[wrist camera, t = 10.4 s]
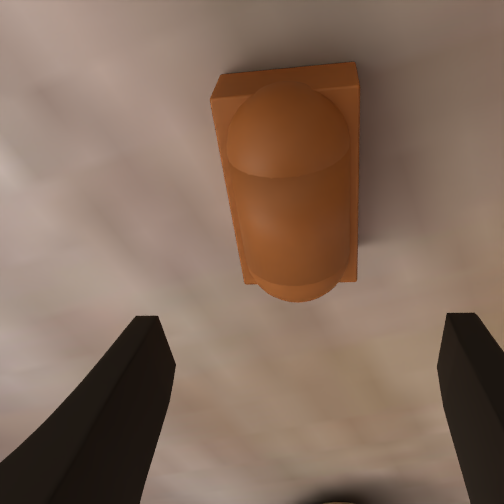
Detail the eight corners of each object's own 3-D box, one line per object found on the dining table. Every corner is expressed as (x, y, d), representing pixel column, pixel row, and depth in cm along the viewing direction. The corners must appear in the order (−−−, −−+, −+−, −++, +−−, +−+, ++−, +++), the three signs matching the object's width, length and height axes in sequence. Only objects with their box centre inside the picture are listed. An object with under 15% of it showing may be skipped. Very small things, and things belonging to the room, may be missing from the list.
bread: (354, 251, 21) (360, 323, 18) (250, 255, 21) (239, 324, 18) (355, 54, 15) (366, 105, 12) (218, 68, 16) (194, 119, 13)
